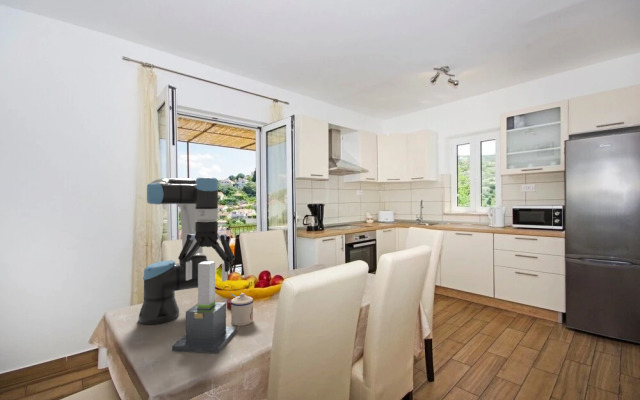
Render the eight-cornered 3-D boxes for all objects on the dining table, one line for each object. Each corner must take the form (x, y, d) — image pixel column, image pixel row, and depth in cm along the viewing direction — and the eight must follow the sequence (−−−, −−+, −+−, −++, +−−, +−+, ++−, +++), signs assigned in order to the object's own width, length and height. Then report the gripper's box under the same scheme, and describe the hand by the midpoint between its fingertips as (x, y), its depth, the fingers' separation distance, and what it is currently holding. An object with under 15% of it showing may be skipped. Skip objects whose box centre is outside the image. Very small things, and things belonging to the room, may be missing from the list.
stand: (172, 350, 97) (172, 314, 97) (197, 329, 113) (197, 298, 113) (217, 353, 95) (217, 317, 95) (236, 331, 111) (236, 300, 111)
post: (197, 320, 102) (197, 263, 102) (203, 315, 106) (203, 261, 106) (209, 321, 102) (209, 264, 101) (215, 316, 106) (215, 261, 106)
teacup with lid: (255, 323, 118) (255, 295, 118) (232, 328, 114) (232, 298, 114) (249, 313, 129) (249, 287, 129) (228, 316, 125) (228, 289, 125)
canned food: (236, 311, 143) (242, 291, 147) (250, 314, 137) (256, 292, 141) (218, 307, 135) (225, 285, 139) (232, 309, 129) (239, 286, 133)
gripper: (167, 221, 101) (167, 281, 101) (236, 221, 99) (236, 284, 99) (180, 219, 109) (180, 276, 109) (244, 220, 106) (244, 278, 106)
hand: (206, 280), depth 104 cm, fingers open, 13 cm apart
